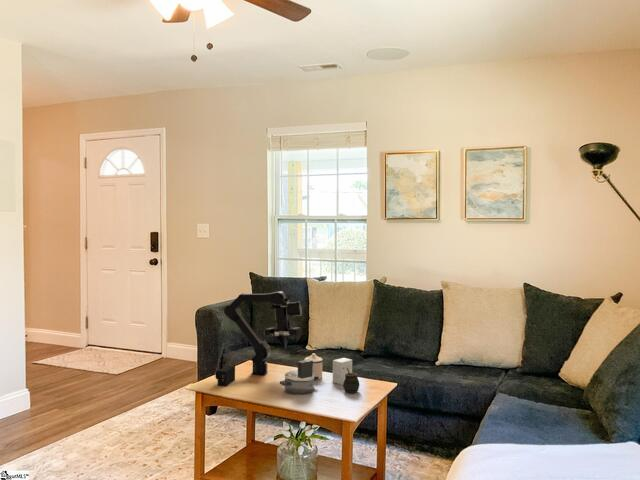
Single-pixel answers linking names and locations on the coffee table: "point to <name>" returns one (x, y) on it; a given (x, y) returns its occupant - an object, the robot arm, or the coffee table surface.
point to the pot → (299, 386)
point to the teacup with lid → (316, 365)
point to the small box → (341, 369)
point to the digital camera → (225, 375)
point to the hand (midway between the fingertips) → (284, 348)
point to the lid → (301, 372)
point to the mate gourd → (351, 382)
